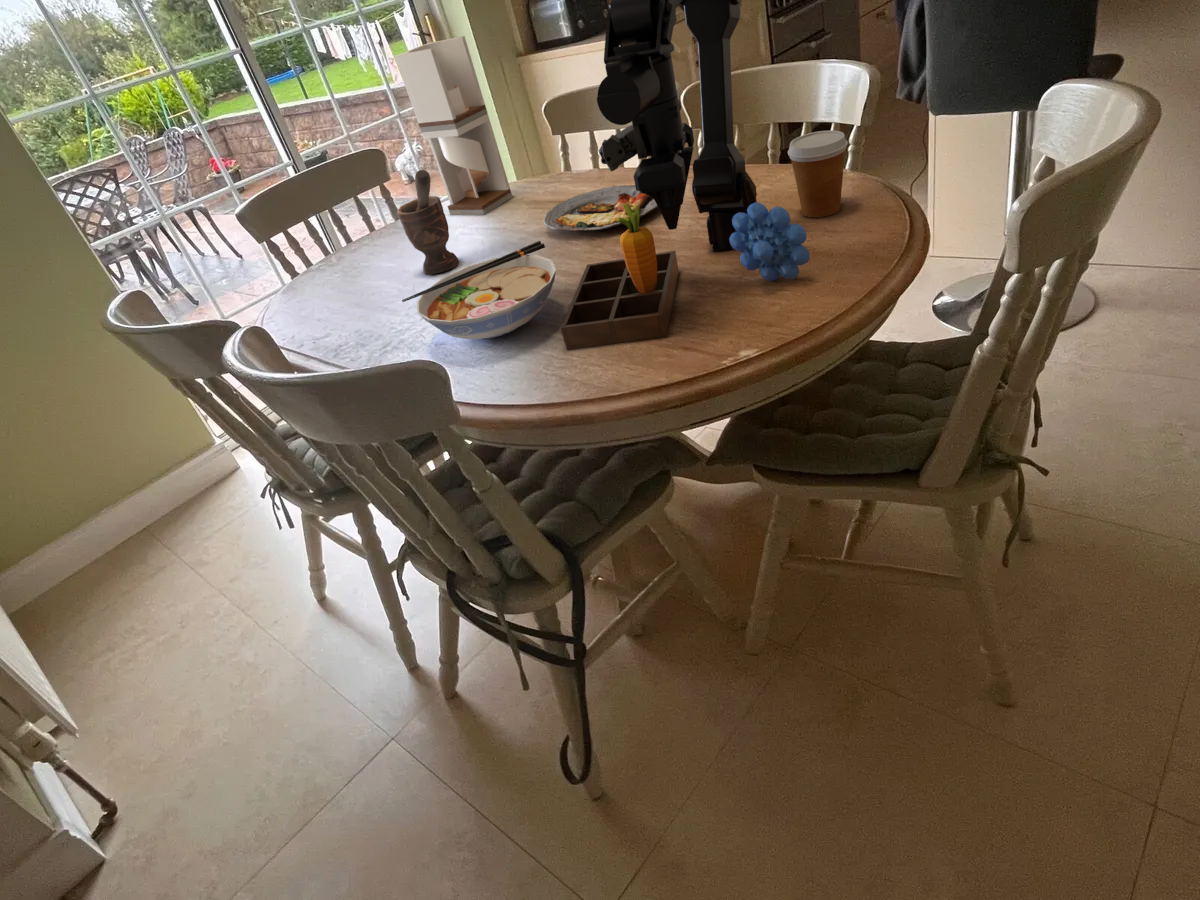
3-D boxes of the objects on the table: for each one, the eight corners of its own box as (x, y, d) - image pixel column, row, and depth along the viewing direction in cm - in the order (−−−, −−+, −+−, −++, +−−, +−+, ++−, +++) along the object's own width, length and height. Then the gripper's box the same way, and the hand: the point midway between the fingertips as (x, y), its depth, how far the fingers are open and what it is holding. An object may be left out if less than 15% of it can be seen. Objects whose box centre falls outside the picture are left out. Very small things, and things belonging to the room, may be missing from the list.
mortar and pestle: (481, 258, 149) (447, 157, 138) (455, 278, 144) (417, 174, 132) (439, 258, 155) (403, 161, 144) (412, 277, 150) (373, 178, 138)
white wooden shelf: (450, 214, 179) (394, 56, 159) (478, 197, 185) (428, 43, 165) (484, 214, 173) (430, 49, 153) (512, 197, 179) (464, 36, 159)
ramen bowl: (444, 384, 109) (424, 335, 104) (413, 332, 127) (395, 288, 122) (596, 321, 114) (583, 272, 110) (545, 279, 132) (532, 235, 128)
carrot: (663, 306, 111) (644, 208, 102) (631, 310, 112) (609, 214, 104) (667, 291, 115) (648, 196, 106) (635, 296, 116) (615, 202, 108)
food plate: (686, 192, 152) (683, 175, 150) (631, 240, 138) (627, 222, 136) (586, 196, 166) (583, 180, 164) (526, 240, 152) (521, 223, 150)
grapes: (725, 294, 111) (714, 216, 105) (740, 273, 116) (730, 198, 109) (803, 294, 106) (797, 212, 99) (815, 272, 110) (810, 193, 103)
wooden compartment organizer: (679, 271, 122) (675, 250, 120) (666, 337, 105) (662, 314, 103) (591, 284, 126) (586, 264, 124) (566, 349, 109) (560, 328, 107)
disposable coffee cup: (818, 225, 124) (813, 152, 117) (781, 215, 131) (775, 145, 124) (862, 205, 126) (860, 132, 119) (823, 196, 134) (819, 127, 127)
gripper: (607, 95, 106) (630, 202, 115) (582, 132, 92) (610, 252, 100) (685, 78, 103) (702, 190, 112) (672, 114, 88) (692, 239, 97)
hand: (676, 216), depth 105 cm, fingers open, 9 cm apart
